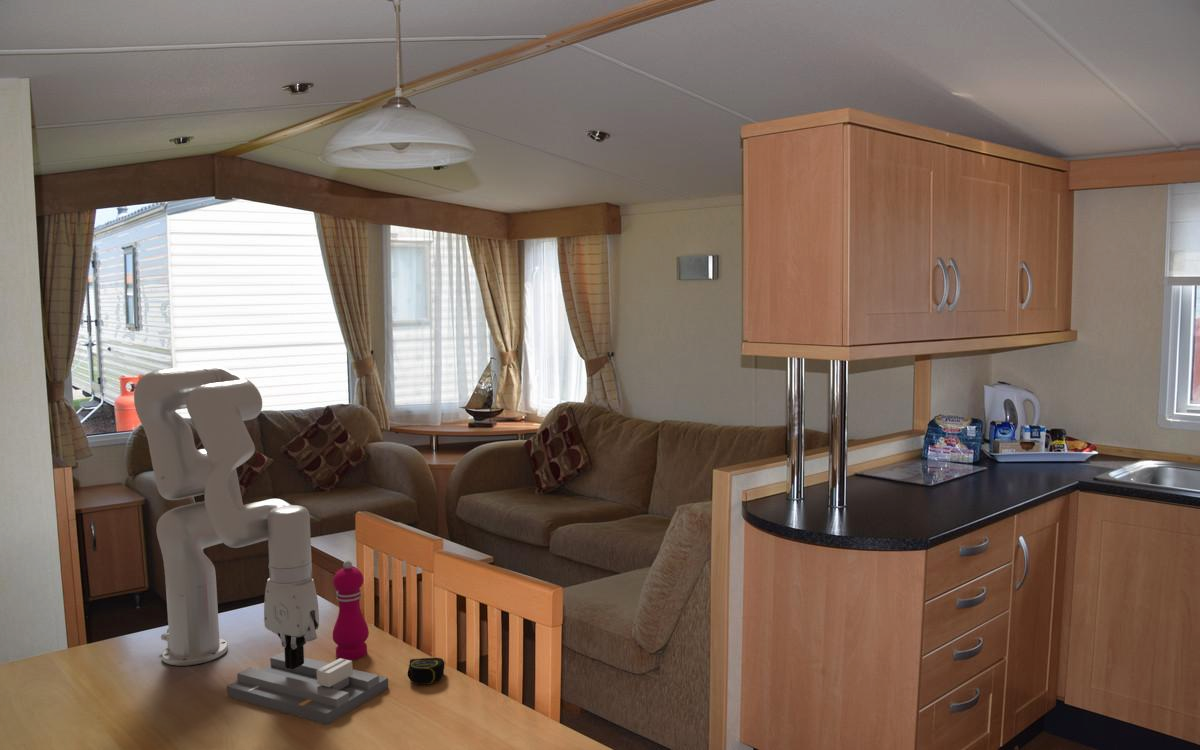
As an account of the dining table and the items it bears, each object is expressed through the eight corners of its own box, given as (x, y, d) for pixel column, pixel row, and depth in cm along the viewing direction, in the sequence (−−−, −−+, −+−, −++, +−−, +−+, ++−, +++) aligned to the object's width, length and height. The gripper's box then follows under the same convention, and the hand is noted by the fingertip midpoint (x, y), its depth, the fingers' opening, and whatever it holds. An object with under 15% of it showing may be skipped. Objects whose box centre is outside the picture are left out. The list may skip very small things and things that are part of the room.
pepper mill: (359, 662, 184) (355, 567, 182) (327, 660, 186) (322, 565, 184) (375, 648, 191) (371, 556, 189) (343, 646, 193) (339, 554, 191)
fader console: (227, 696, 170) (226, 678, 170) (292, 664, 184) (291, 647, 184) (327, 724, 158) (326, 705, 158) (388, 687, 173) (387, 670, 172)
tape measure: (445, 672, 180) (444, 654, 179) (442, 687, 173) (441, 668, 172) (410, 674, 179) (409, 656, 179) (406, 689, 172) (405, 670, 172)
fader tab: (317, 692, 166) (316, 669, 165) (340, 679, 171) (339, 657, 171) (329, 695, 165) (328, 672, 164) (353, 682, 170) (352, 660, 169)
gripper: (246, 572, 171) (251, 666, 172) (305, 584, 164) (309, 681, 166) (277, 561, 177) (281, 651, 179) (335, 572, 170) (338, 666, 172)
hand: (294, 665), depth 172 cm, fingers closed
